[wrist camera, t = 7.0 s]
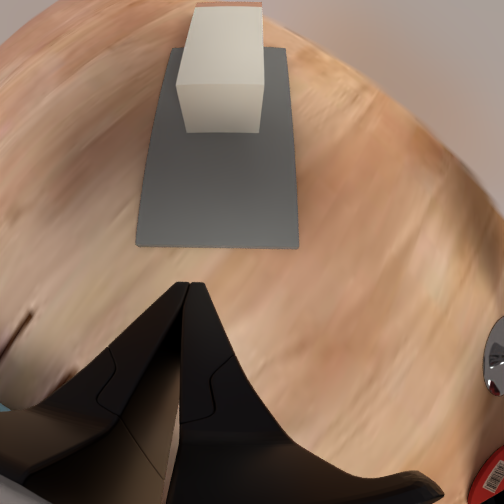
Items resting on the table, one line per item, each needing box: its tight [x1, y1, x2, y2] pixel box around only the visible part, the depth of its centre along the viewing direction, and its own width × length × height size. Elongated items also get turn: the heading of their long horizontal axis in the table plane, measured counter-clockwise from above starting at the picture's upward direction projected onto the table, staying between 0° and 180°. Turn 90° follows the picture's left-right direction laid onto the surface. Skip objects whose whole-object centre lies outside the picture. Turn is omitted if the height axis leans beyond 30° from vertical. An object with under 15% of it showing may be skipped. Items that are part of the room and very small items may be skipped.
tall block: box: [176, 2, 264, 133], centre depth 19 cm, size 5×5×10 cm
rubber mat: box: [136, 47, 299, 249], centre depth 21 cm, size 18×10×1 cm, turn 0°
